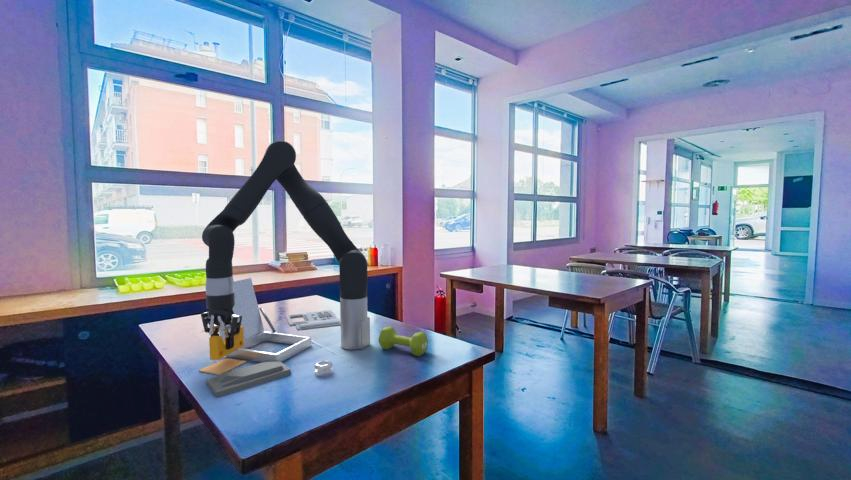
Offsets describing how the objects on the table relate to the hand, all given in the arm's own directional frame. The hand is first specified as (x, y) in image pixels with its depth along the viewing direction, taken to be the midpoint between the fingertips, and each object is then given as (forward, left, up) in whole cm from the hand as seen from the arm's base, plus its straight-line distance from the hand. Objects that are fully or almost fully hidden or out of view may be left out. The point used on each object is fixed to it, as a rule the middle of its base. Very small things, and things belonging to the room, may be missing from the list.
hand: (222, 347), depth 118 cm
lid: (+9, -15, +7) cm, 19 cm away
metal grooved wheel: (-31, -6, -6) cm, 32 cm away
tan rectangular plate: (0, 0, -6) cm, 6 cm away
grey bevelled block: (-14, +4, -7) cm, 16 cm away
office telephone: (+4, -50, -7) cm, 51 cm away
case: (-4, -15, -6) cm, 17 cm away
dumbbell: (-46, -30, -6) cm, 56 cm away
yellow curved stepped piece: (0, -1, -2) cm, 2 cm away
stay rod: (+5, -25, -4) cm, 26 cm away
